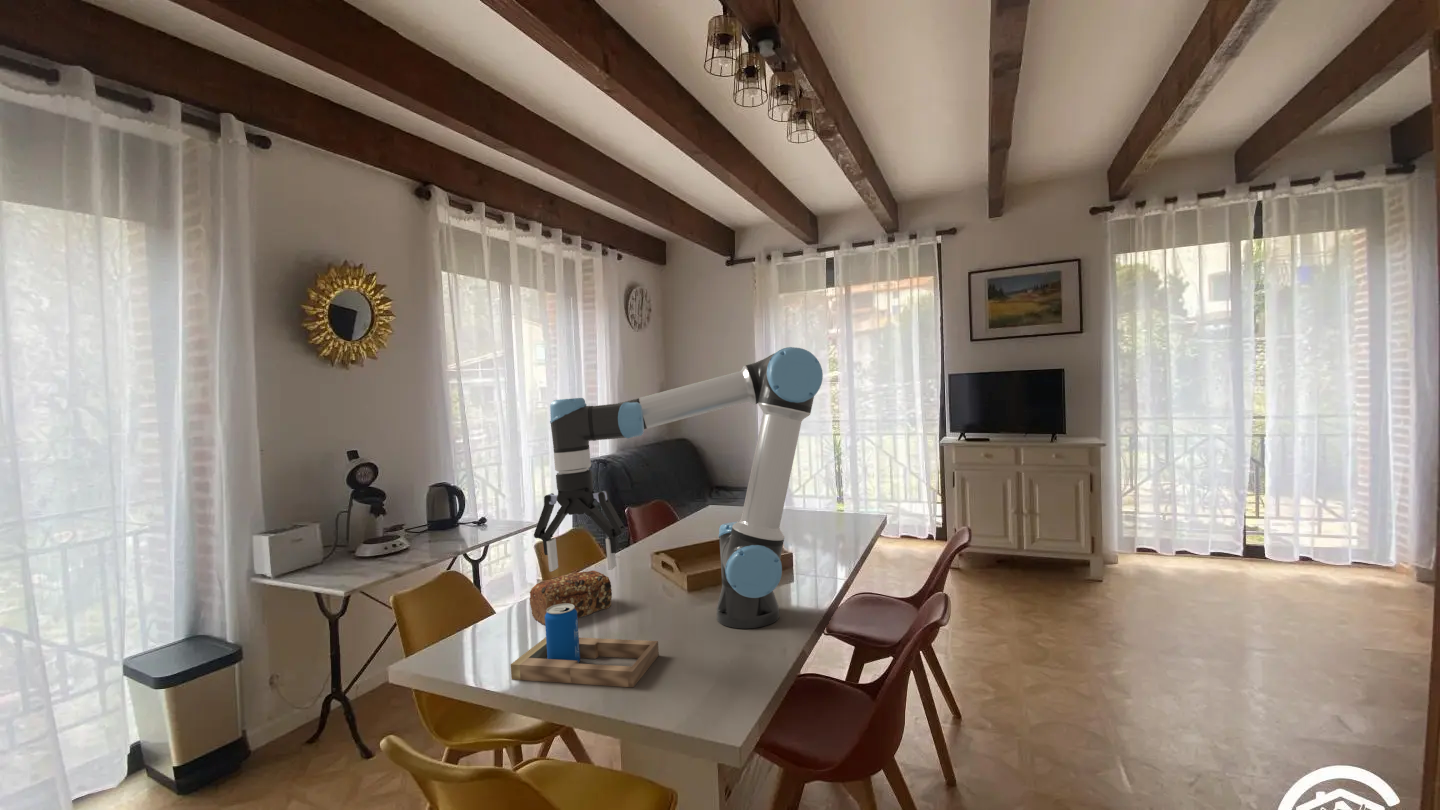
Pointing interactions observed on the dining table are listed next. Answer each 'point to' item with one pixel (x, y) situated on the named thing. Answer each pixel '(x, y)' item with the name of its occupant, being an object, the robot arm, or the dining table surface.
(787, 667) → the dining table surface
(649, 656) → the wooden rectangular frame
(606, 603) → the bread
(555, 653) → the beverage can
